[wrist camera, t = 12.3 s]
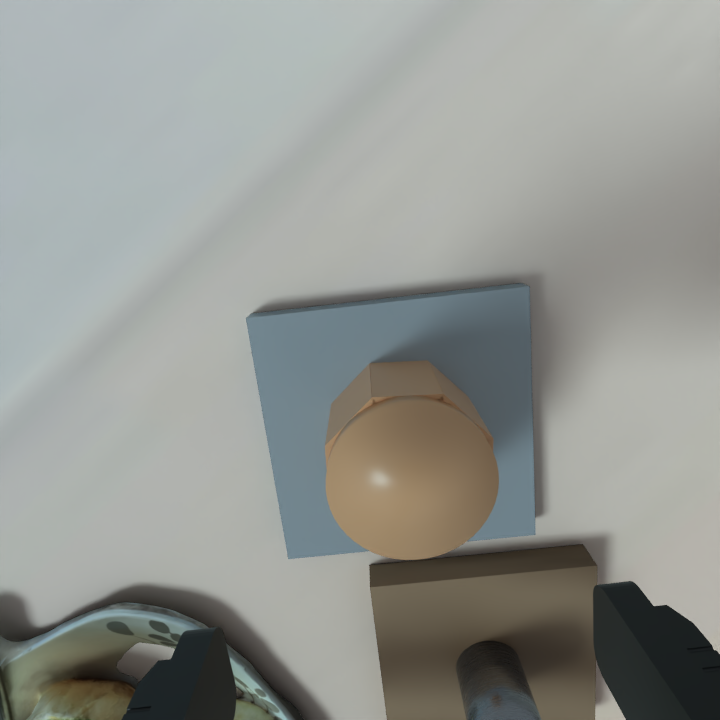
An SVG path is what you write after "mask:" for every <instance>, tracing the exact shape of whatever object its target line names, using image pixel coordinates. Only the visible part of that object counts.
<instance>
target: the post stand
mask: <svg viewBox="0 0 720 720" xmlns="http://www.w3.org/2000/svg"><path fill="white" fill-rule="evenodd" d="M369 566H370V590H371V598H372V606H373V614H374V622H375V629H376V637H377V645H378V653H379V660H380V668H381V676H382V684H383V692H384V699H385V707H386V715H387V720H595V687H596V656H595V651H594V643H593V589H594V587H595V586H596V585H597V564H596V563H595V562H594V560H593V559H592V557H591V556H590V554H589V553H588V551H587V550H586V548H585V547H584V545H583V544H582V545H571V546H561V547H551V548H541V549H530V550H520V551H510V552H500V553H489V554H479V555H469V556H459V557H448V558H438V559H428V560H418V561H407V562H397V563H387V564H377V565H369Z"/></svg>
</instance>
